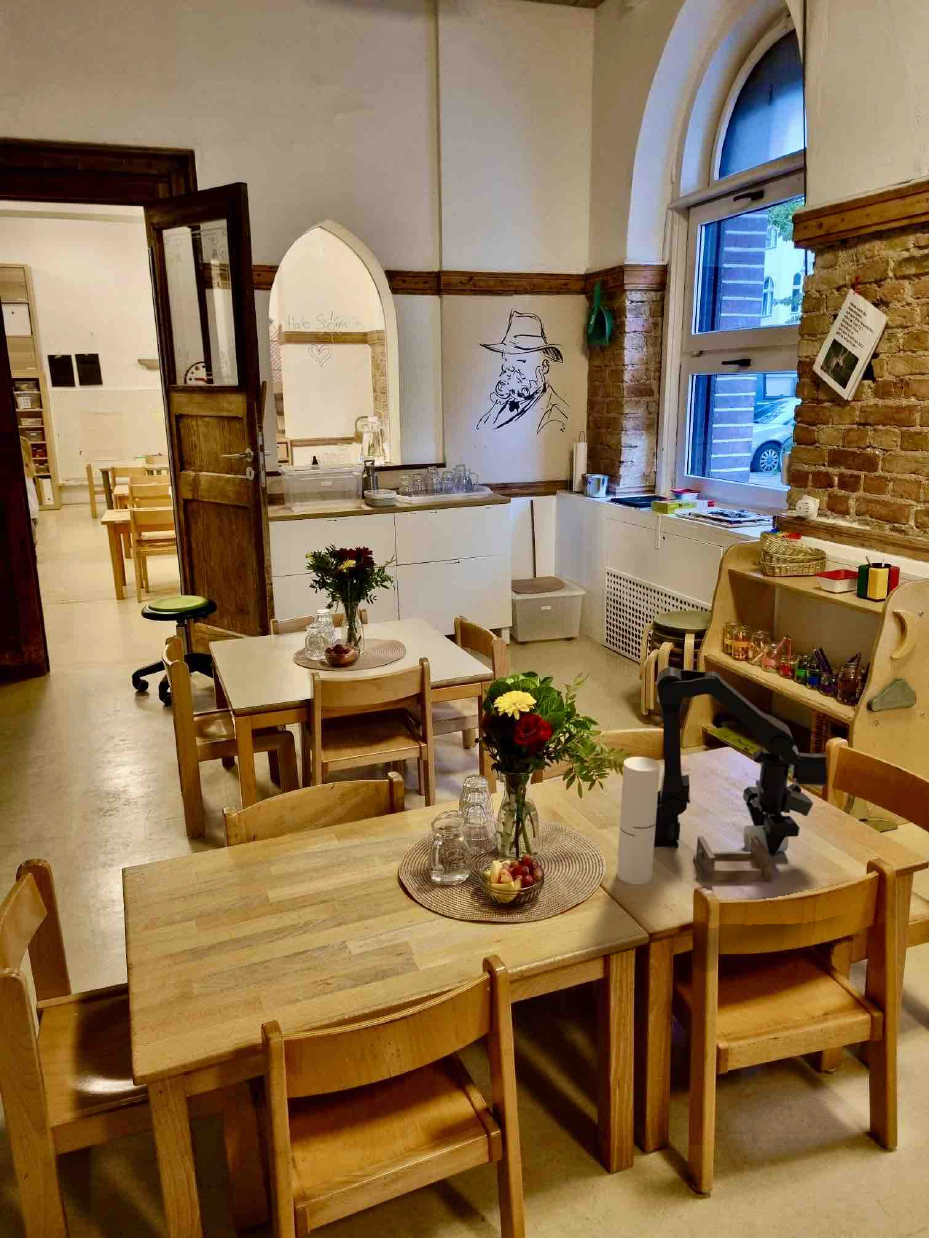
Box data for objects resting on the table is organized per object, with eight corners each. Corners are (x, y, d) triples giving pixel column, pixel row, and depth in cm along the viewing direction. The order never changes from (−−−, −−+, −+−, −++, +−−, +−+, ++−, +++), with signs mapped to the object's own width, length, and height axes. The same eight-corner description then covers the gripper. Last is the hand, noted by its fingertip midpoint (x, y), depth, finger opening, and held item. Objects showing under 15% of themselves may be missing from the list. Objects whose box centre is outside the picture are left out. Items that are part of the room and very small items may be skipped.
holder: (702, 881, 189) (704, 857, 187) (691, 859, 197) (693, 836, 196) (773, 881, 189) (776, 857, 187) (759, 859, 198) (761, 836, 196)
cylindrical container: (651, 886, 187) (659, 772, 180) (616, 881, 188) (623, 769, 182) (651, 868, 193) (659, 758, 187) (617, 864, 195) (624, 755, 188)
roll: (750, 853, 198) (750, 827, 199) (742, 849, 204) (741, 824, 204) (790, 853, 198) (789, 827, 199) (780, 849, 204) (780, 824, 204)
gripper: (828, 800, 188) (819, 868, 192) (794, 763, 206) (787, 826, 210) (774, 800, 188) (766, 868, 192) (745, 762, 206) (739, 826, 210)
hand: (766, 846), depth 201 cm, fingers open, 7 cm apart
